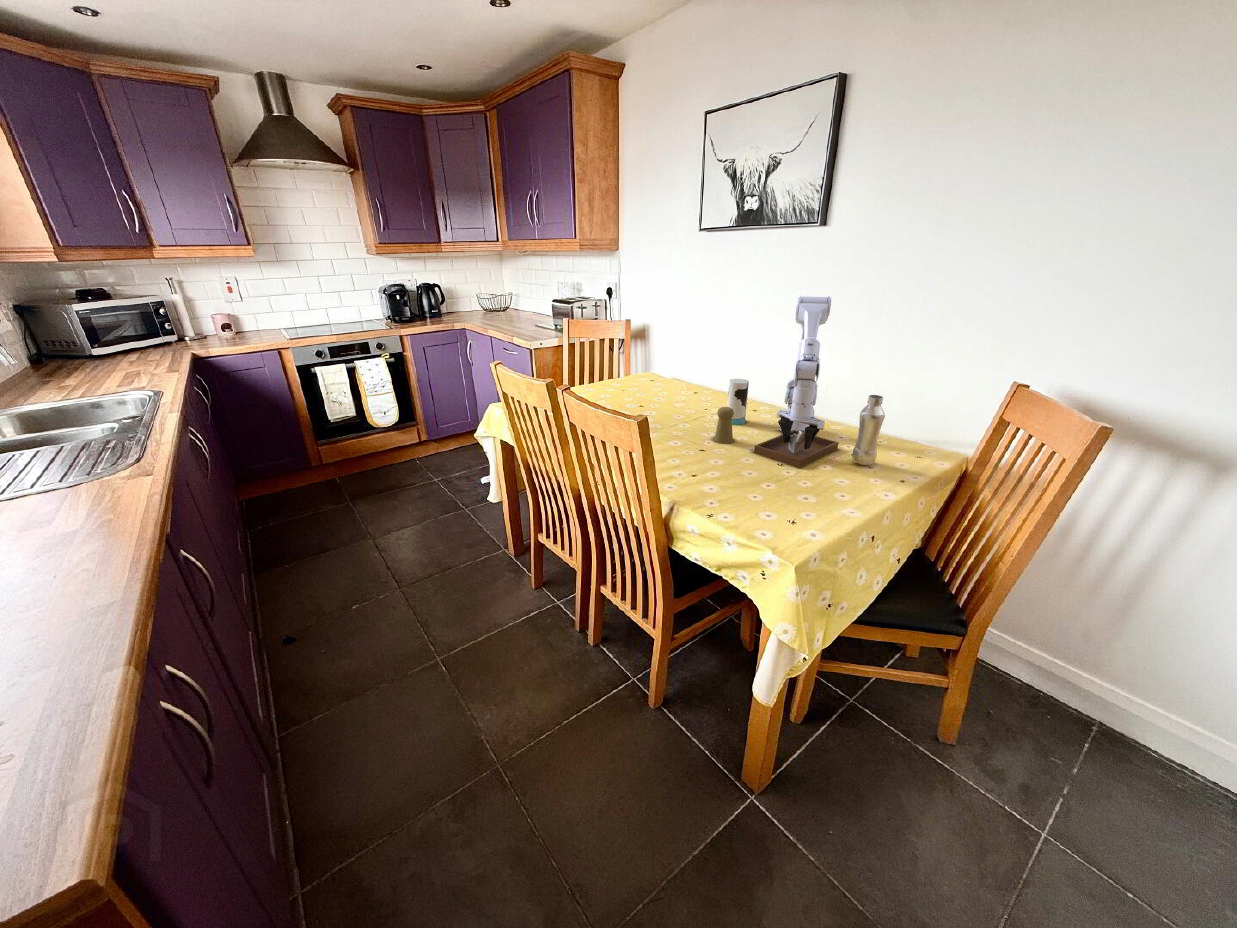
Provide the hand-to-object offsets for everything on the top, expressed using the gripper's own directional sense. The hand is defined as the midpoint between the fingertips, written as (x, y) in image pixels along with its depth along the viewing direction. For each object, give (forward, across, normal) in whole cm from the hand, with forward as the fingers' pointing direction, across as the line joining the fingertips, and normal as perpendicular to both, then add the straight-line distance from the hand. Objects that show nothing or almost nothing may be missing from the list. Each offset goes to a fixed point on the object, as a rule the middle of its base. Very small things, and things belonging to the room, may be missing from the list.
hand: (796, 445), depth 151 cm
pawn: (+3, -22, -7) cm, 23 cm away
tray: (+3, -1, +2) cm, 4 cm away
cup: (+3, -31, +11) cm, 33 cm away
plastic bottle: (+3, +17, +8) cm, 19 cm away
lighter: (+3, 0, 0) cm, 3 cm away
